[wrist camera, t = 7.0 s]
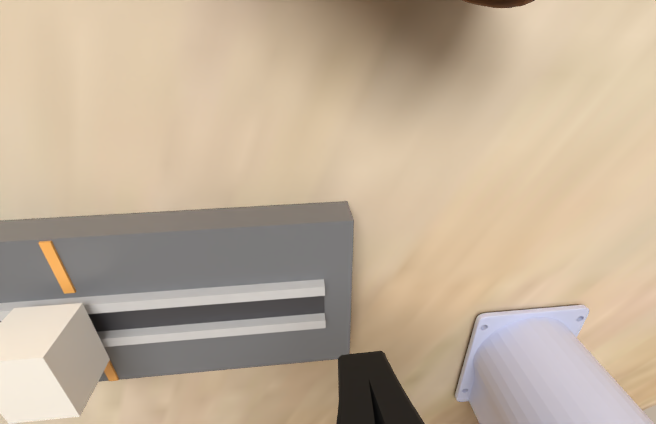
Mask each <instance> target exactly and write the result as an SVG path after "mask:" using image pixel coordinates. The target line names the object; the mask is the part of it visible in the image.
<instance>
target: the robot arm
mask: <svg viewBox="0 0 656 424" xmlns="http://www.w3.org/2000/svg"><path fill="white" fill-rule="evenodd" d="M588 314H589V309H588V308H587V307H586V306H585V305H573V306H561V307H550V308H538V309H526V310H514V311H503V312H491V313H482V314H480V315H479V316H478V317H477V318H476V321H475V325H474V328H473V332H472V335H471V339H470V343H469V346H468V350H467V353H466V357H465V360H464V364H463V368H462V371H461V375H460V378H459V382H458V385H457V389H456V392H455V398H456V400H457V401H459V402H465V401H469V403H470V405H471V407H472V409H473V411H474V413H475V415H476V418H477V420H478V422H479V424H654V423H653V422H652V421H651V420H650V419H649V417H648V416H647V415H646V414H645V413H644V412H643V411H642V410H641V408H640V407H639V406H638V405H637V404H636V403H635V402H634V401H633V400H632V398H631V397H630V396H629V395H628V394H627V393H626V392H625V391H624V390H623V388H622V387H621V386H620V385H619V384H618V383H617V382H616V381H615V380H614V379H613V377H612V376H611V375H610V374H609V373H608V372H607V371H606V370H605V369H604V367H603V366H602V365H601V364H600V363H599V362H598V361H597V360H596V359H595V357H594V356H593V355H592V354H591V353H590V352H589V351H588V350H587V349H586V347H585V346H584V345H583V344H582V343H581V342H580V341H579V340H578V339H577V336H578V334H579V332H580V330H581V328H582V326H583V324H584V322H585V320H586V318H587V316H588ZM338 380H339V406H338V415H337V424H425V423H424V422H423V420H422V419H421V417H420V416H419V414H418V412H417V411H416V409H415V408H414V406H413V405H412V403H411V401H410V400H409V398H408V396H407V395H406V393H405V391H404V390H403V388H402V386H401V384H400V383H399V381H398V379H397V377H396V375H395V374H394V372H393V370H392V368H391V366H390V364H389V362H388V360H387V358H386V356H385V353H383V352H382V351H376V352H366V353H356V354H346V355H341V356H340V357H339V358H338Z"/></svg>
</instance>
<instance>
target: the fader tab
mask: <svg viewBox="0 0 656 424" xmlns="http://www.w3.org/2000/svg"><path fill="white" fill-rule="evenodd" d="M109 360H110V358H109V356H108V354H107V352H106V350H105V348H104V346H103V344H102V342H101V340H100V338H99V336H98V334H97V332H96V330H95V328H94V326H93V324H92V321H91V319H90V317H89V315H88V313H87V311H86V309H85V307H84V305H83V303H75V304H62V305H48V306H35V307H22V308H14V309H13V310H12V311H11V312H10V313H9V314H8V315H7V316H6V317H5V318H4V319H3V320H2V321H1V322H0V414H1V415H2V416H3V417H4V419H5V420H6V421H7V422H8V424H11V423H21V422H31V421H41V420H51V419H60V418H70V417H80V416H81V414H82V412H83V410H84V408H85V406H86V404H87V402H88V400H89V398H90V396H91V394H92V393H93V391H94V389H95V387H96V385H97V383H98V381H99V379H100V377H101V375H102V373H103V372H104V370H105V368H106V366H107V364H108V362H109Z"/></svg>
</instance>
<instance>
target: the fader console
mask: <svg viewBox="0 0 656 424" xmlns="http://www.w3.org/2000/svg"><path fill="white" fill-rule="evenodd" d="M353 224H354V220H353V217H352V214H351V211H350V208H349V205H348V202H347V201H345V202H327V203H309V204H292V205H274V206H256V207H238V208H220V209H202V210H184V211H166V212H148V213H131V214H113V215H95V216H77V217H59V218H41V219H23V220H5V221H0V322H1V321H2V320H3V319H4V318H5V317H6V316H7V315H8V314H9V313H10V312H11V311H12V310H13V309H14V308H22V307H35V306H48V305H62V304H75V303H83V305H84V307H85V309H86V311H87V313H88V315H89V317H90V319H91V321H92V324H93V326H94V328H95V330H96V332H97V334H98V336H99V338H100V340H101V342H102V344H103V346H104V348H105V350H106V352H107V354H108V356H109V358H110V360H109V362H108V364H107V366H106V368H105V370H104V372H103V373H102V375H101V377H100V379H99V381H116V380H119V379H130V378H141V377H151V376H162V375H173V374H184V373H194V372H205V371H216V370H226V369H237V368H248V367H258V366H269V365H280V364H291V363H301V362H312V361H323V360H333V359H338V358H339V357H340V356H341V355H346V354H350V322H351V289H352V257H353Z"/></svg>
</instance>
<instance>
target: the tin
mask: <svg viewBox="0 0 656 424" xmlns="http://www.w3.org/2000/svg"><path fill="white" fill-rule="evenodd" d="M462 1H465V2H468V3H471V4H476V5H481V6H487V7H493V8H512V7H516V6H522V5H525V4H528V3H530V2H532V1H534V0H462Z"/></svg>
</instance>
